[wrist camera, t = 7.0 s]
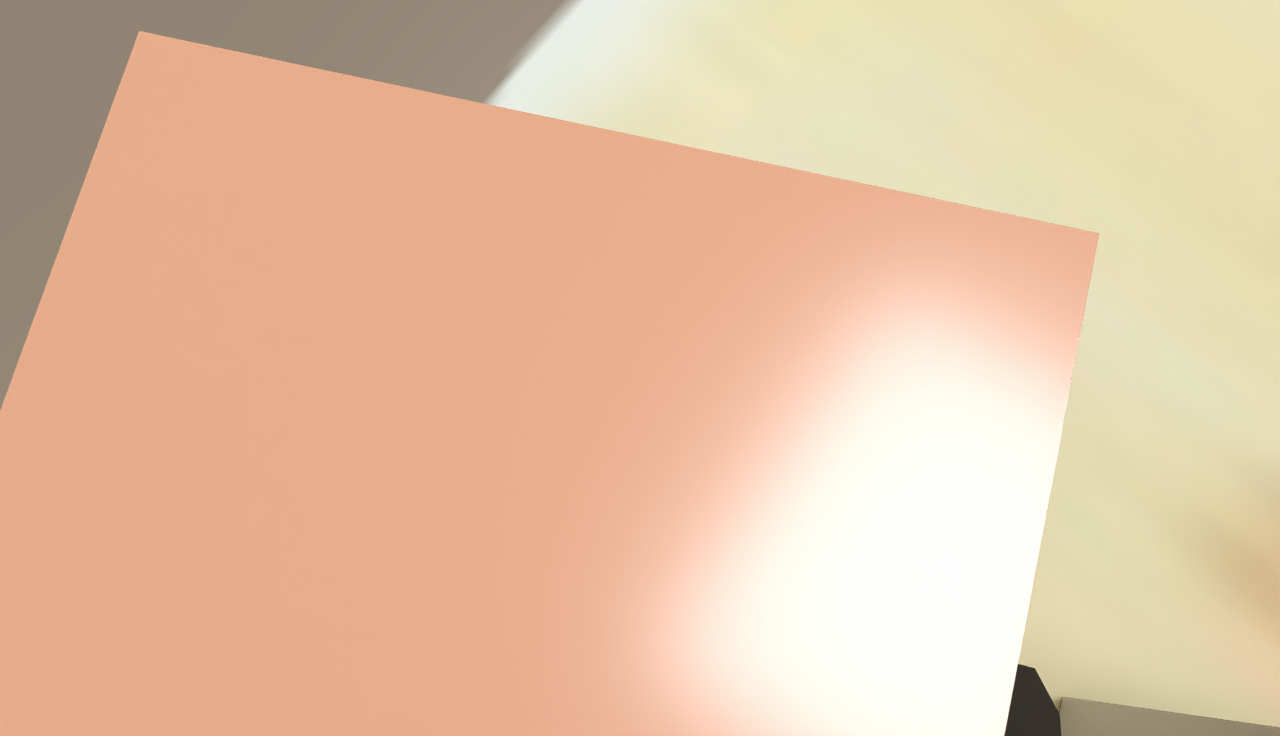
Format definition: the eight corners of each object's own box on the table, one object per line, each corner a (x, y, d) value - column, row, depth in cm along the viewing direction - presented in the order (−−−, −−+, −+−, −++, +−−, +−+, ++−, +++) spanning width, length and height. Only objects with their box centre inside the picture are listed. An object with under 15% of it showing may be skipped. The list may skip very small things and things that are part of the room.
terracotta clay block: (464, 365, 18) (138, 31, 8) (890, 466, 17) (1099, 231, 7) (292, 952, 17) (-368, 1418, 7) (753, 1094, 16) (789, 1869, 6)
